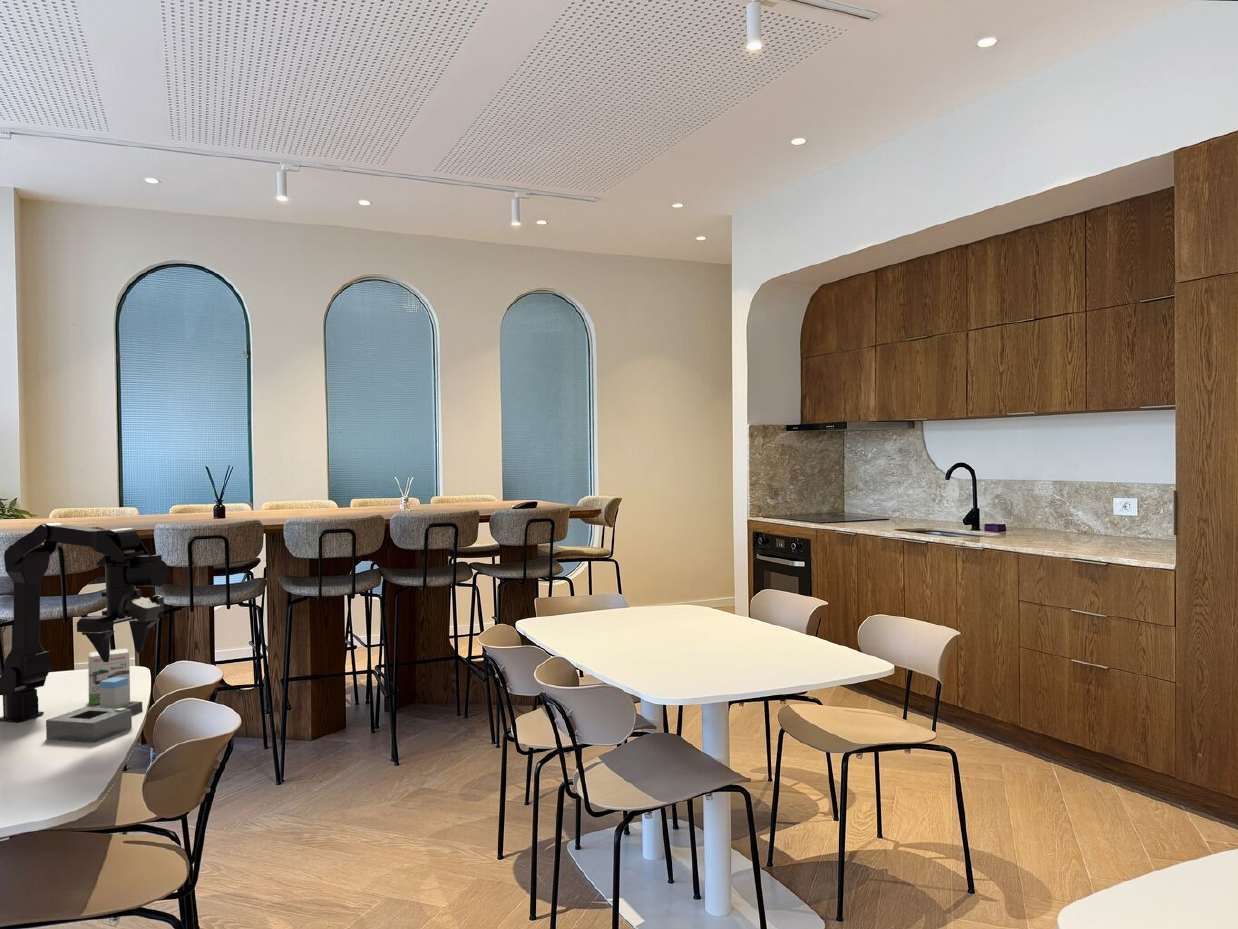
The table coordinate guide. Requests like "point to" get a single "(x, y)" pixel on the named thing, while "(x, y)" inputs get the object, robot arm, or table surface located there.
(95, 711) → the port
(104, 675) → the ink box
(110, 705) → the plug
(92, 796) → the table surface
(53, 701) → the table surface
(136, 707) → the gray square frame
